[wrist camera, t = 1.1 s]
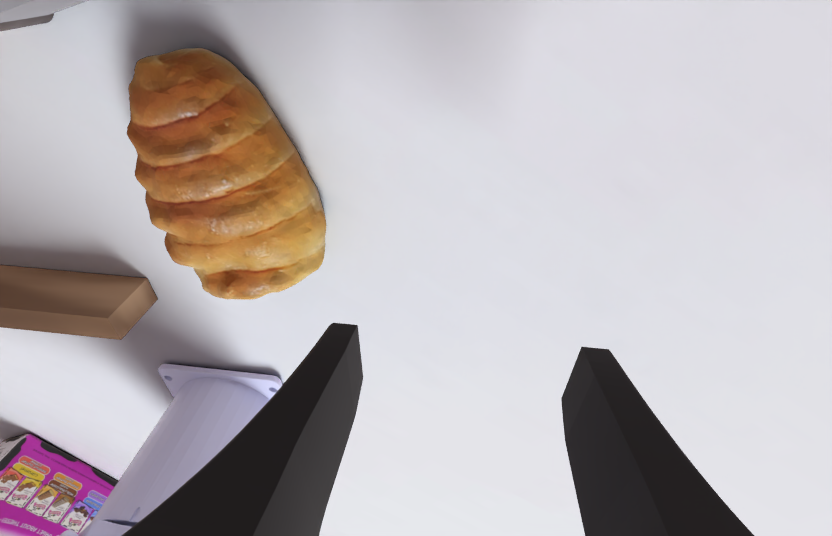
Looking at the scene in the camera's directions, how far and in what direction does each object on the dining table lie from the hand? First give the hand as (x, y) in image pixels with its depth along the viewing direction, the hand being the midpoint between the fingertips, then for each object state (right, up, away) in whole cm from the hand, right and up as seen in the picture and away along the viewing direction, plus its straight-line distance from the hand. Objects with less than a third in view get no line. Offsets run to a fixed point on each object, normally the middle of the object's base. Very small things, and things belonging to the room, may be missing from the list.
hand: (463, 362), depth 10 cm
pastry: (-9, +6, +8) cm, 13 cm away
